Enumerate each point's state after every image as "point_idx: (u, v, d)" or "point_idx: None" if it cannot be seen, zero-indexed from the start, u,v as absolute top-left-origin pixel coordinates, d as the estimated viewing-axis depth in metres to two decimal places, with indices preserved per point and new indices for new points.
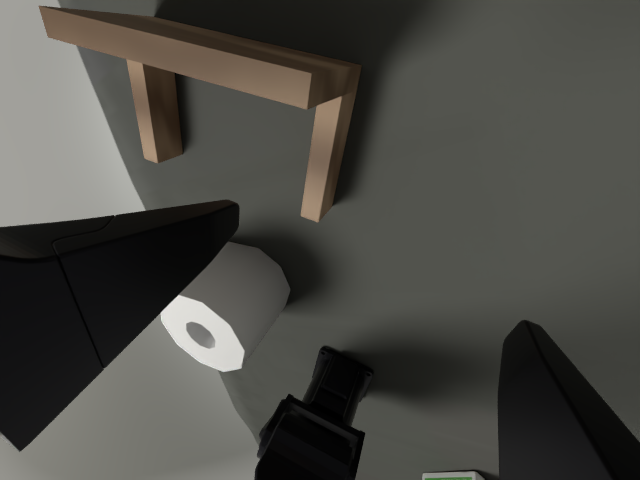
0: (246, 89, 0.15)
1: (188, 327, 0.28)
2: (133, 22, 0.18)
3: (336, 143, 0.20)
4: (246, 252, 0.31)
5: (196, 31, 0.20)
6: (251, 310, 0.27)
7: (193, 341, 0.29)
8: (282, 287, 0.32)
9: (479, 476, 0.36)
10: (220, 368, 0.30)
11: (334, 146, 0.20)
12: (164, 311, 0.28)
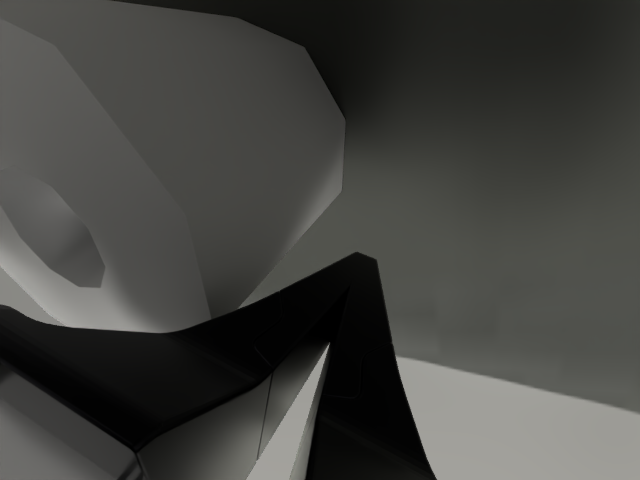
0: None
1: (80, 275, 0.08)
2: None
3: None
4: None
5: None
6: None
7: (110, 288, 0.08)
8: None
9: None
10: (171, 223, 0.05)
11: None
12: (69, 321, 0.10)
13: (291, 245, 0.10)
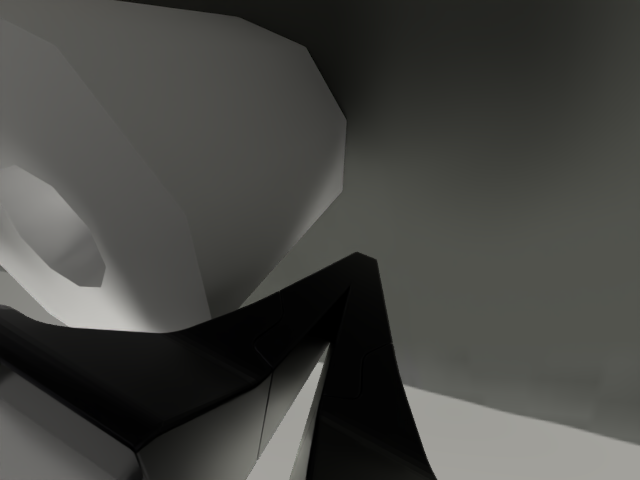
0: None
1: (80, 274, 0.08)
2: None
3: None
4: None
5: None
6: None
7: (110, 288, 0.08)
8: None
9: None
10: (172, 224, 0.05)
11: None
12: (69, 320, 0.10)
13: (291, 245, 0.10)
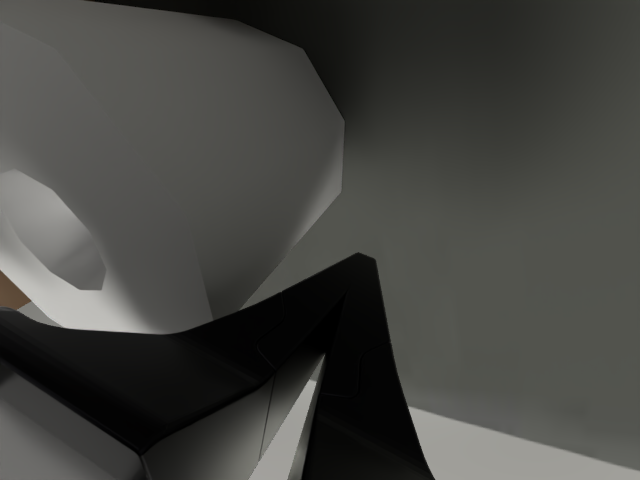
0: None
1: (80, 278, 0.08)
2: None
3: None
4: None
5: None
6: None
7: (111, 291, 0.08)
8: None
9: None
10: (173, 225, 0.05)
11: None
12: (70, 324, 0.10)
13: (292, 246, 0.10)
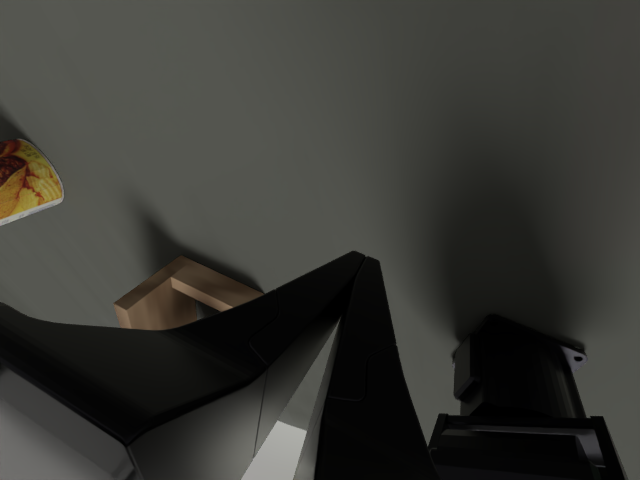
0: None
1: None
2: None
3: (200, 284, 0.30)
4: None
5: None
6: None
7: None
8: None
9: None
10: None
11: (199, 286, 0.30)
12: None
13: None
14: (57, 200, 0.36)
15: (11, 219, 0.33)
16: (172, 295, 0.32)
